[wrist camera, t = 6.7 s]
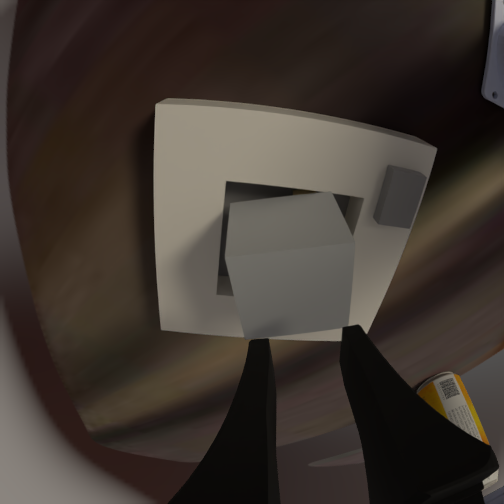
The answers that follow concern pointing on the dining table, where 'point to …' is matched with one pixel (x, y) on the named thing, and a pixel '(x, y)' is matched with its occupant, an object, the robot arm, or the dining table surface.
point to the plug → (290, 264)
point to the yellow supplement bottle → (455, 407)
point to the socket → (270, 186)
